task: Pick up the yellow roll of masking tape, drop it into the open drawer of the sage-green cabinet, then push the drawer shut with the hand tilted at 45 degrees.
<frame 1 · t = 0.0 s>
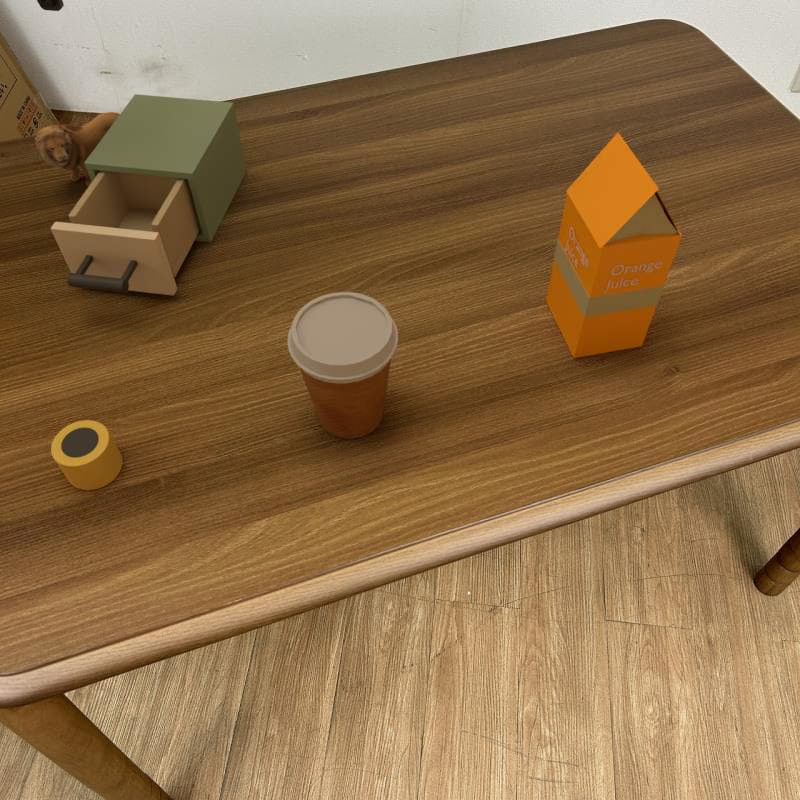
drawer: (130, 235, 82), point 5 cm above the table, slide at 9.0 cm
lion figurine: (103, 174, 97), on the table
disposable coffee cup: (350, 414, 72), on the table
tape: (95, 467, 69), on the table
orange juice: (591, 324, 80), on the table
cabinet: (181, 200, 93), on the table
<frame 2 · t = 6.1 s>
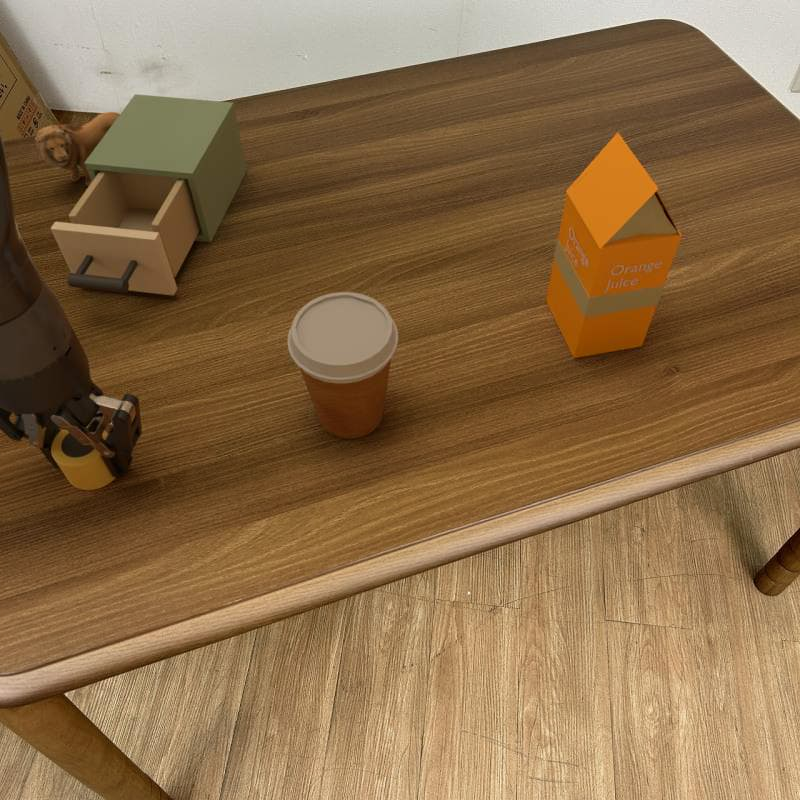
hand: (93, 464, 68), 0 cm above the table, tool pointing down, fingers closed on tape, 5 cm apart
tape: (95, 467, 69), on the table, touching gripper
everything else where it was.
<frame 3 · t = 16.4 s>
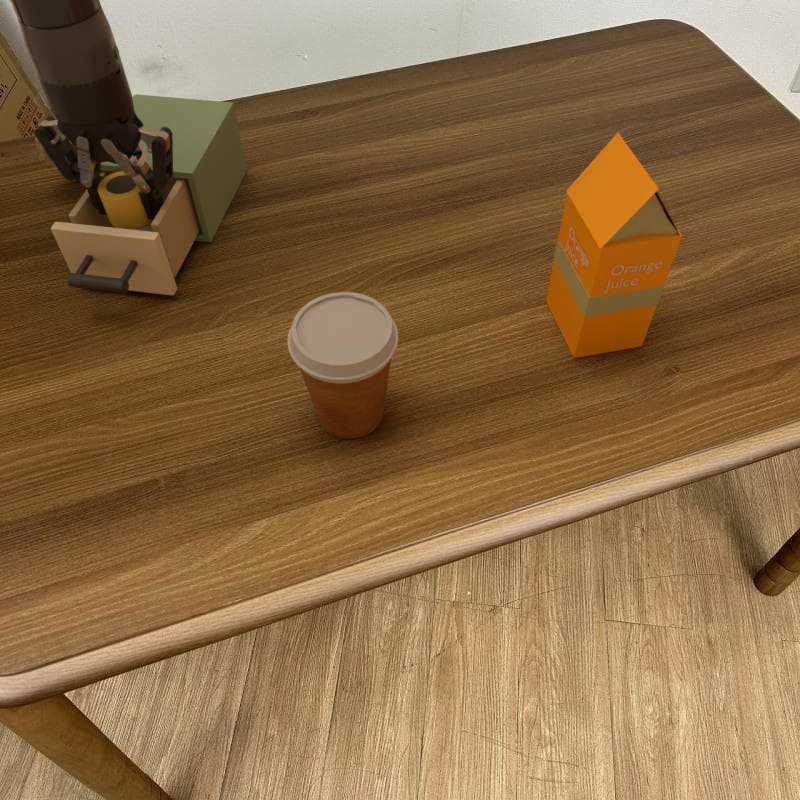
hand: (131, 212, 81), 7 cm above the table, tool pointing down, fingers closed on tape, 5 cm apart
tape: (132, 215, 82), point 6 cm above the table, touching gripper
everything else where it was.
when the fingers open (9 cm above the table, at t = 27.4 s): tape drops 7 cm, resting on drawer.
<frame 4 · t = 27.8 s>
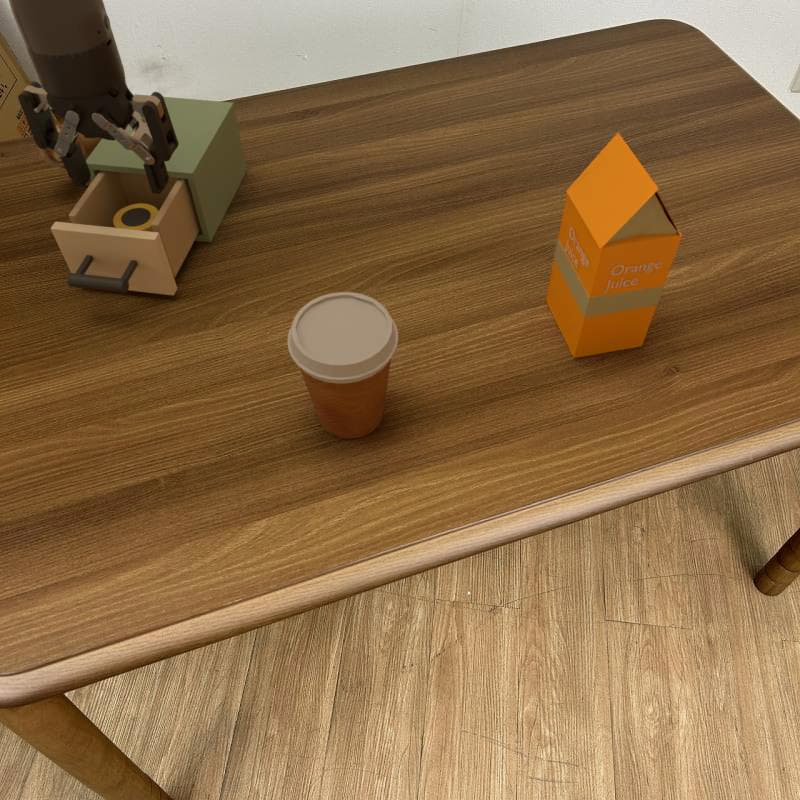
hand: (122, 185, 79), 10 cm above the table, tool pointing down, fingers open, 8 cm apart
drawer: (130, 235, 82), point 5 cm above the table, slide at 9.0 cm, touching tape
tape: (146, 245, 85), point 2 cm above the table, touching drawer
everything else where it was.
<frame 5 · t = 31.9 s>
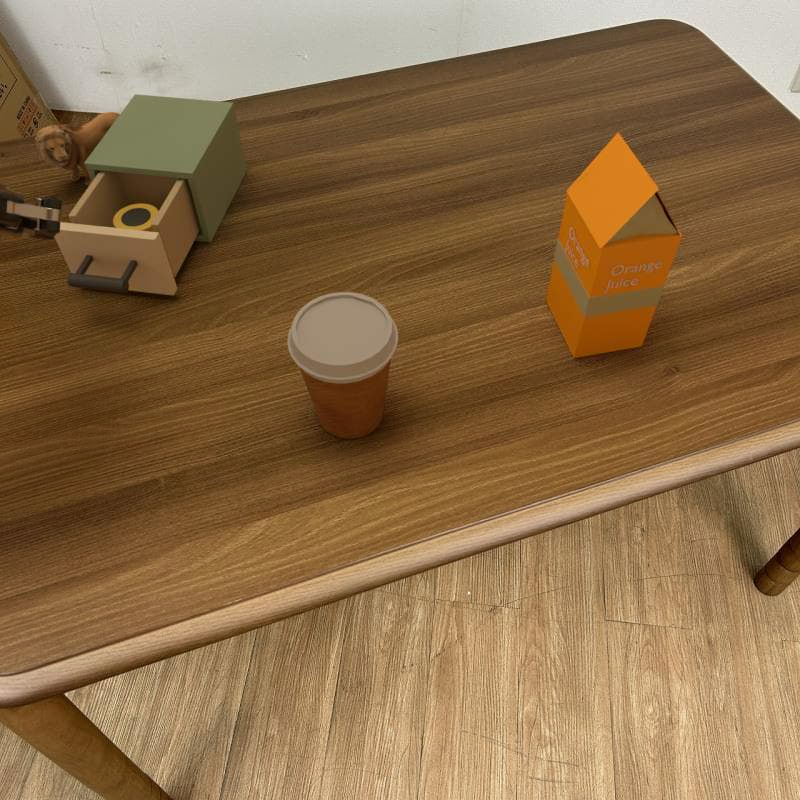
hand: (47, 227, 66), 16 cm above the table, tool tilted 40°, fingers closed
nothing on the table moved.
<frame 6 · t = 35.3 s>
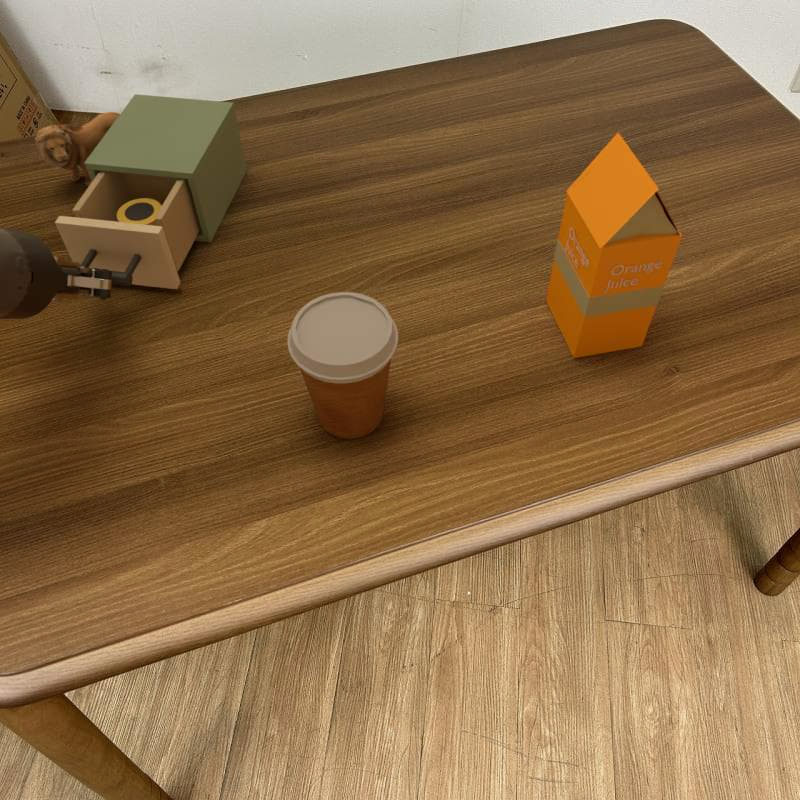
hand: (97, 282, 76), 5 cm above the table, tool tilted 45°, fingers closed
drawer: (134, 229, 82), point 5 cm above the table, slide at 8.0 cm, touching gripper, tape
everything else where it was.
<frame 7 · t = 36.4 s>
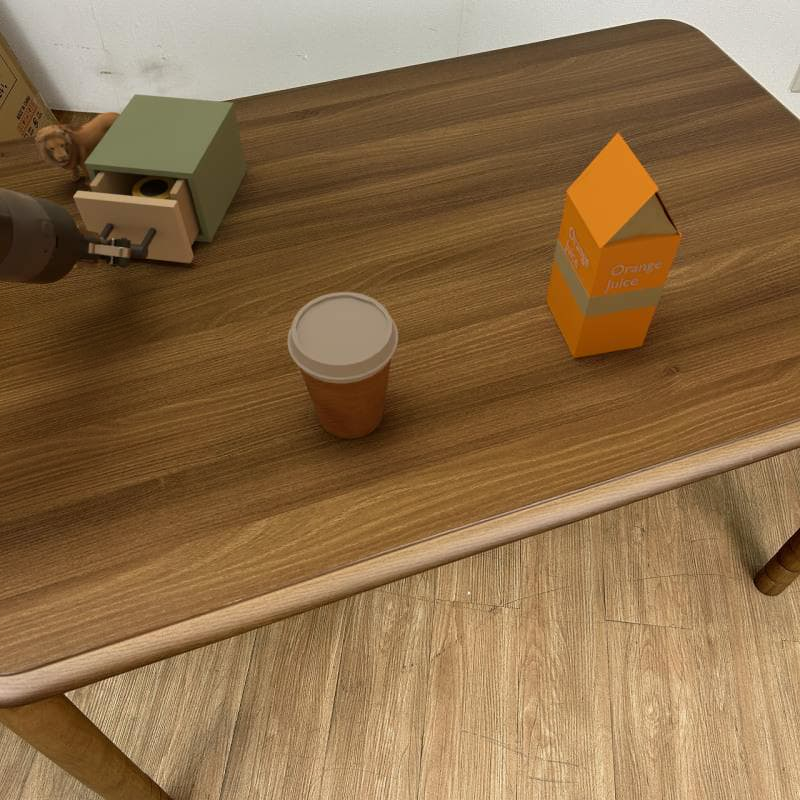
hand: (114, 254, 79), 5 cm above the table, tool tilted 45°, fingers closed
drawer: (148, 205, 85), point 5 cm above the table, slide at 3.6 cm, touching gripper, tape
tape: (163, 216, 88), point 2 cm above the table, touching drawer
everything else where it was.
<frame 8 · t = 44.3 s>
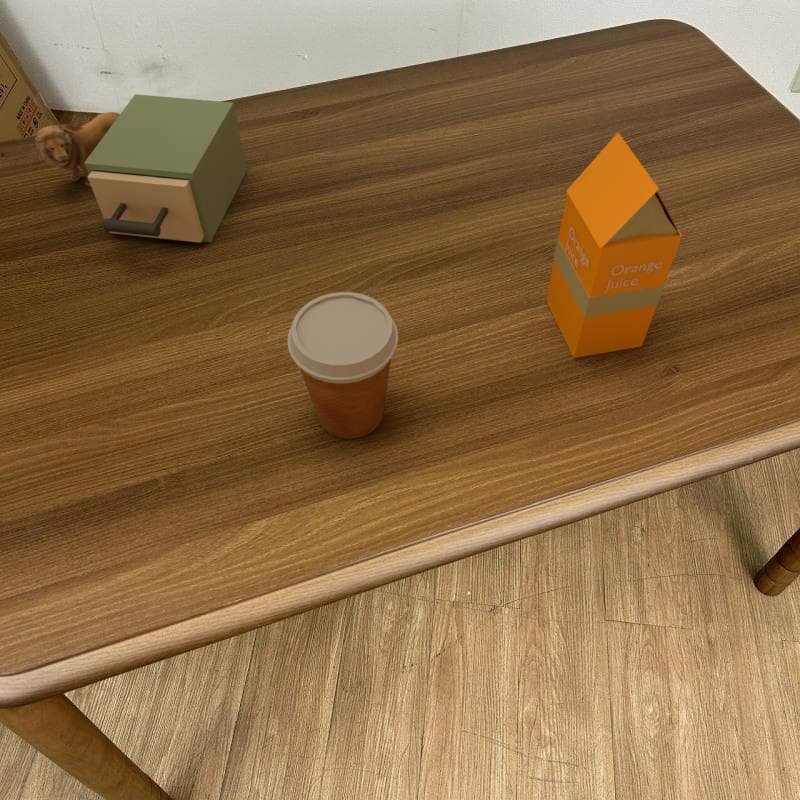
drawer: (160, 186, 87), point 5 cm above the table, slide at 0.0 cm, touching tape
tape: (173, 197, 90), point 2 cm above the table, touching drawer
everything else where it was.
at the end: tape inside the target area in the cabinet (2.2 cm from its centre), point 2.0 cm above the cabinet's base; drawer slide at 0.0 cm; the gripper is holding nothing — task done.
